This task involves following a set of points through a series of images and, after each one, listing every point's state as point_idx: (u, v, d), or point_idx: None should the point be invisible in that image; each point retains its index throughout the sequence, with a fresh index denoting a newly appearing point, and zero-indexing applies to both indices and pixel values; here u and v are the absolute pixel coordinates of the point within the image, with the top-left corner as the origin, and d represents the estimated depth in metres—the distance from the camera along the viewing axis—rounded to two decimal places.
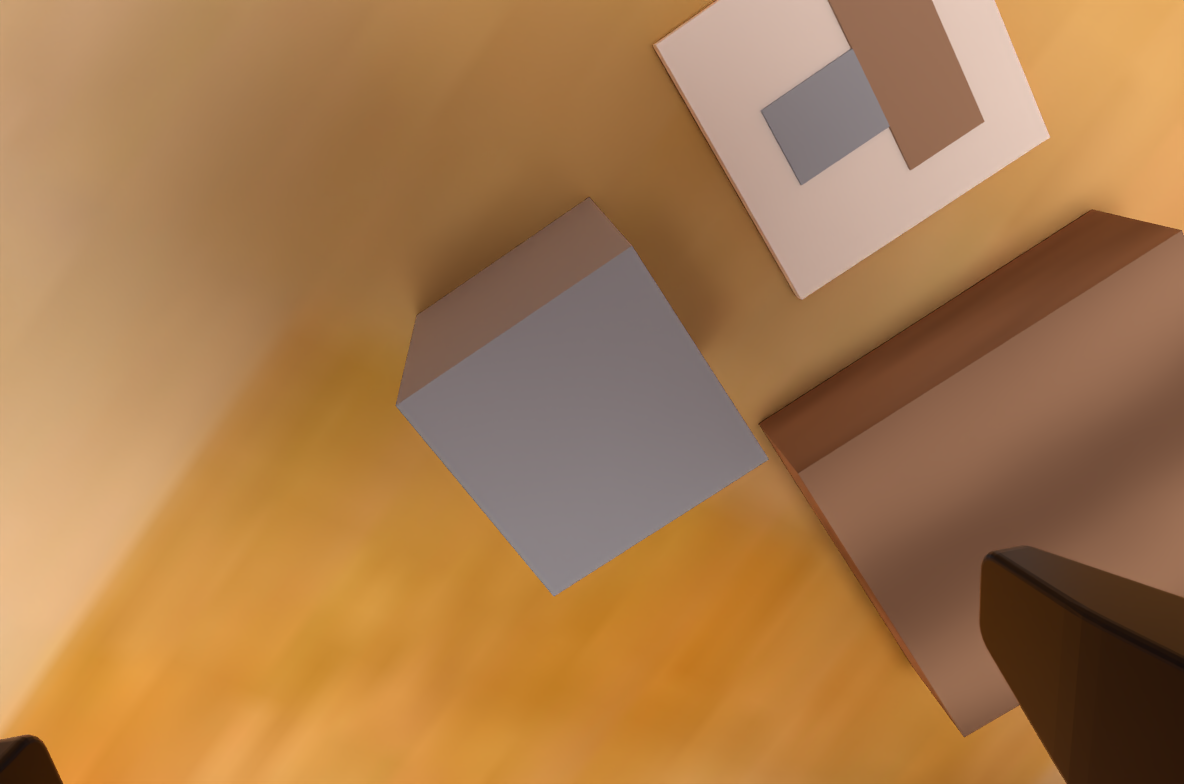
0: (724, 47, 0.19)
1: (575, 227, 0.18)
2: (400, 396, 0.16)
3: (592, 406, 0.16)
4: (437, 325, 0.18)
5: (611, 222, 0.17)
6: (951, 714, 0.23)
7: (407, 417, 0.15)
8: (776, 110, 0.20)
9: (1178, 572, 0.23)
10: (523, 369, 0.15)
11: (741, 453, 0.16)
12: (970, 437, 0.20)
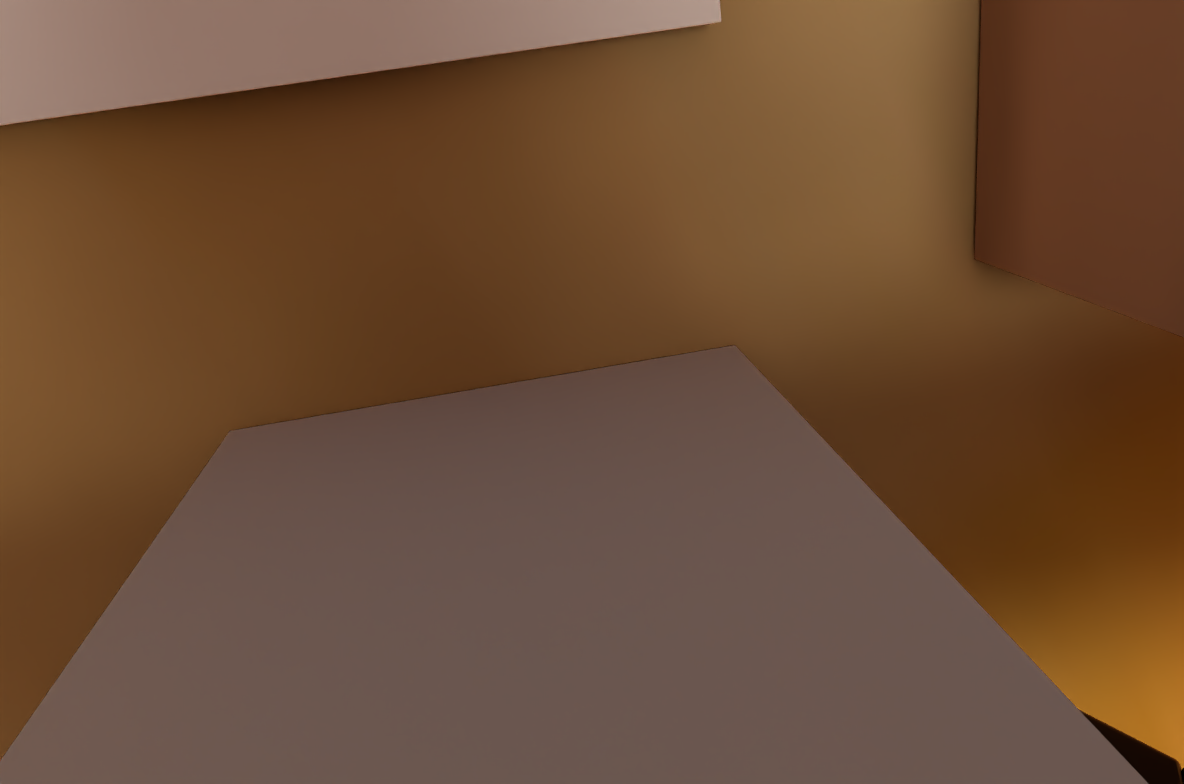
0: None
1: None
2: None
3: None
4: None
5: (63, 671, 0.05)
6: None
7: None
8: None
9: None
10: None
11: None
12: None
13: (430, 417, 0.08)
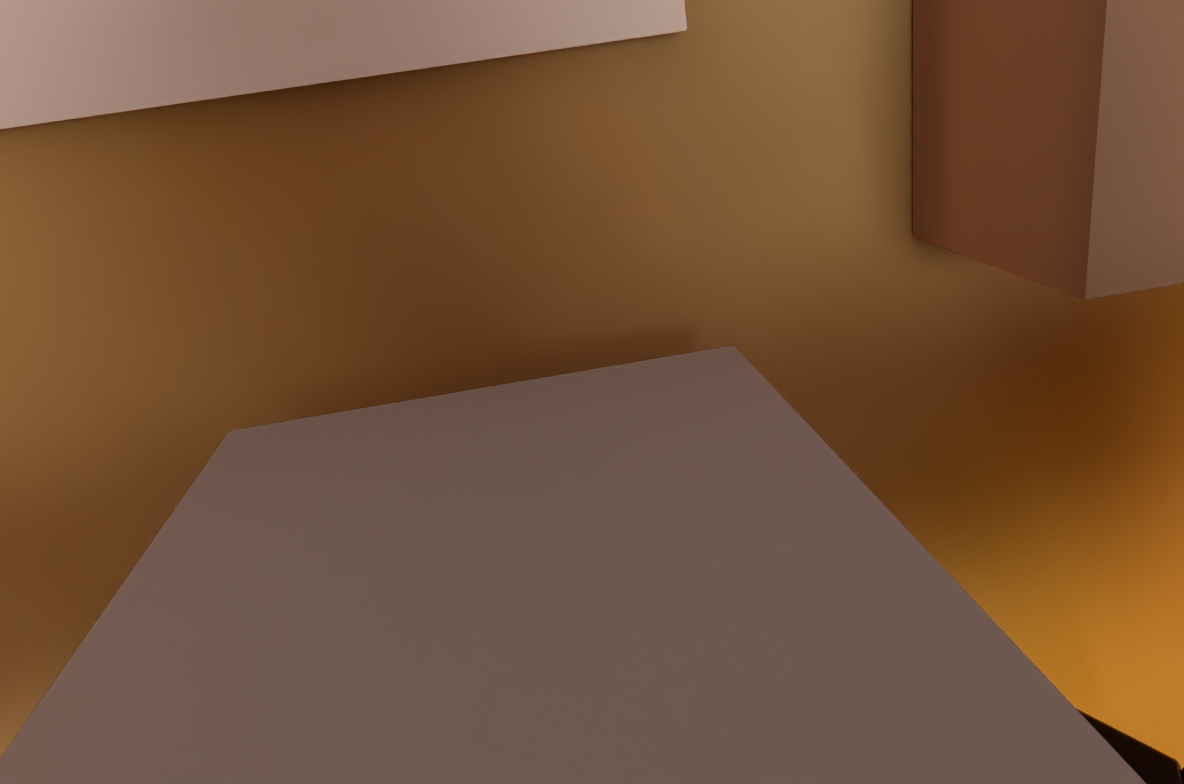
0: None
1: None
2: None
3: None
4: None
5: (62, 670, 0.05)
6: None
7: None
8: None
9: None
10: None
11: None
12: None
13: (429, 417, 0.08)
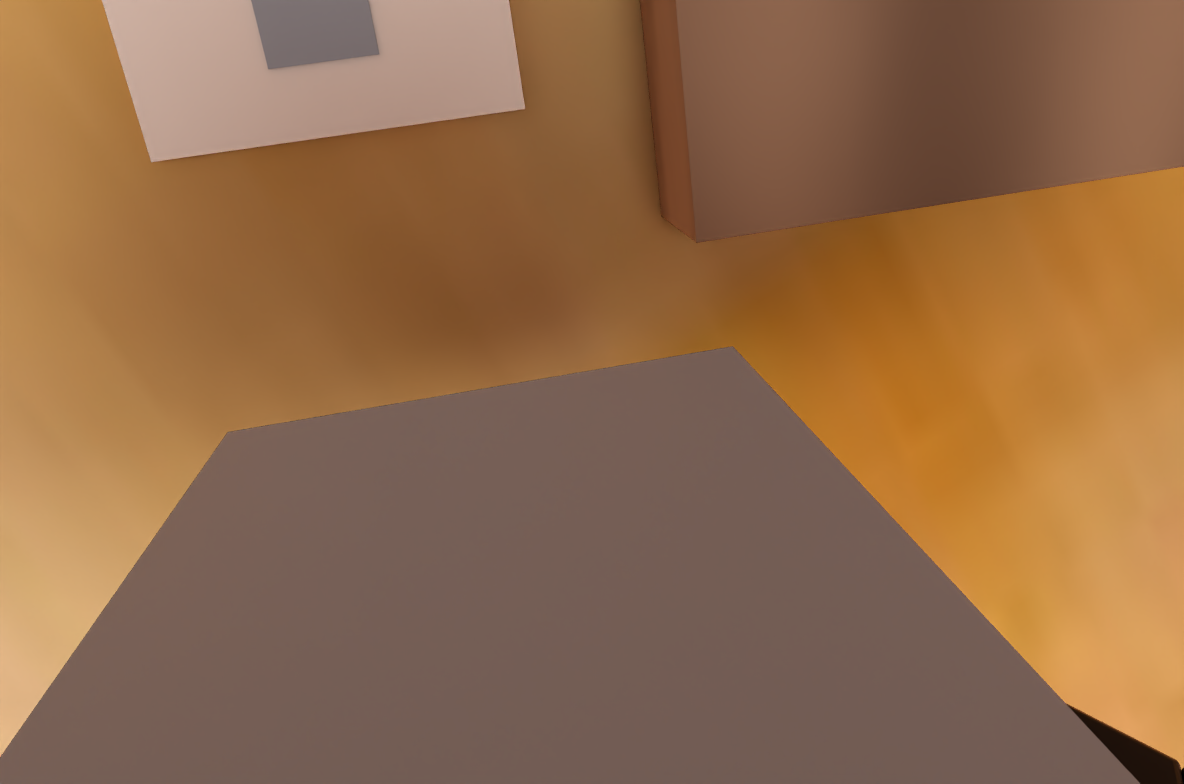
0: (179, 83, 0.16)
1: None
2: None
3: None
4: None
5: (59, 673, 0.05)
6: (1175, 165, 0.16)
7: None
8: (274, 49, 0.16)
9: None
10: None
11: None
12: None
13: (428, 418, 0.08)
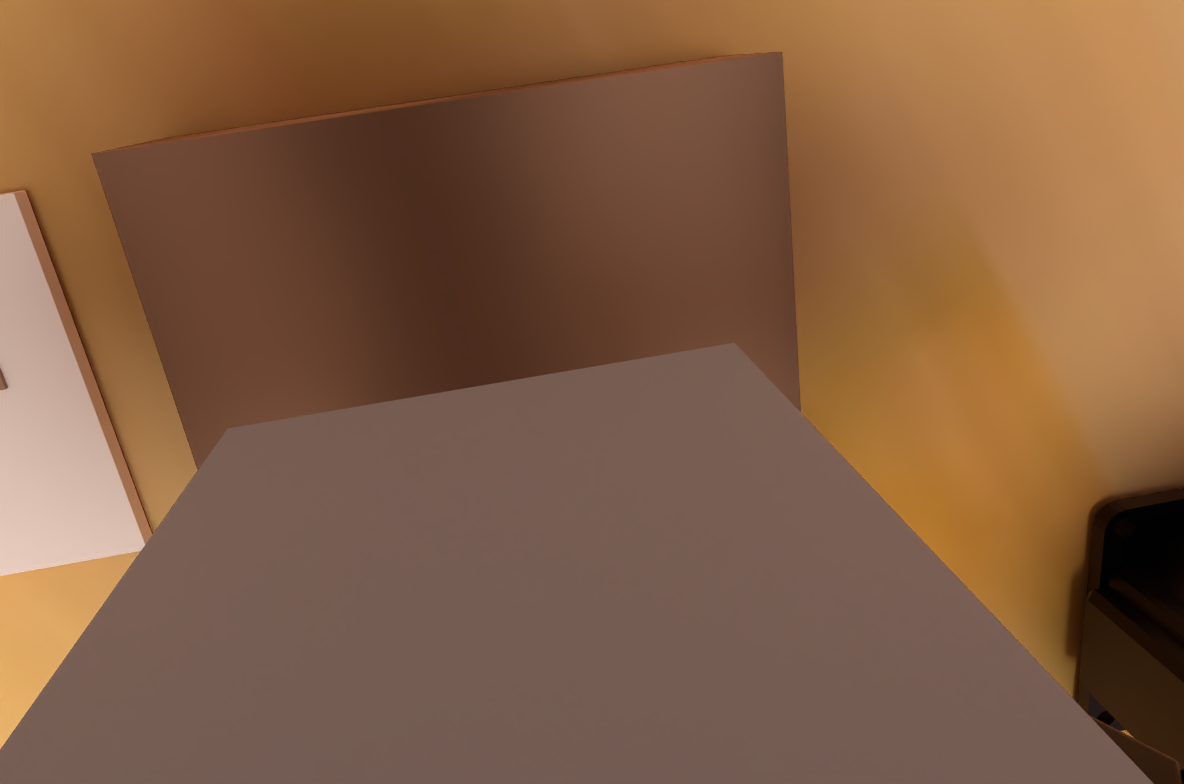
0: None
1: None
2: None
3: None
4: None
5: (58, 669, 0.05)
6: None
7: None
8: None
9: (718, 264, 0.14)
10: None
11: None
12: None
13: (428, 415, 0.08)
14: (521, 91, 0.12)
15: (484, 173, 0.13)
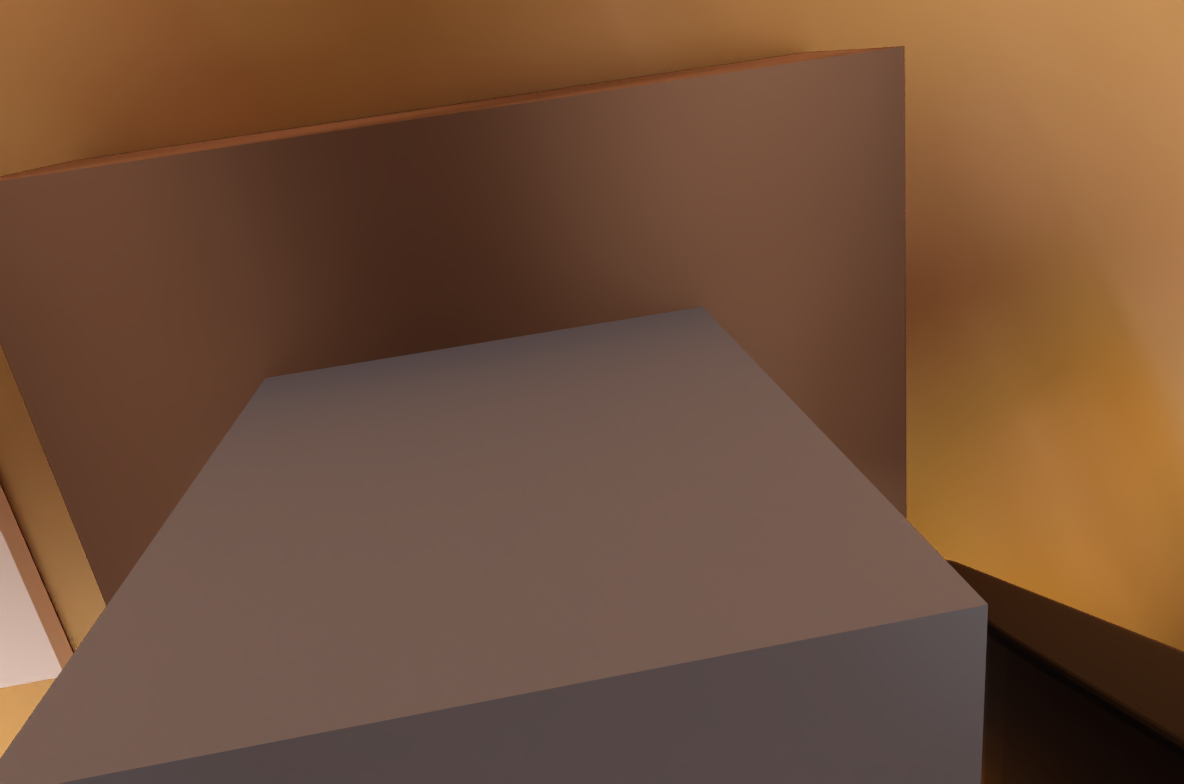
0: None
1: None
2: None
3: None
4: None
5: (152, 540, 0.06)
6: None
7: None
8: None
9: (806, 332, 0.10)
10: None
11: (906, 679, 0.04)
12: None
13: (438, 365, 0.09)
14: (544, 101, 0.09)
15: (492, 215, 0.09)
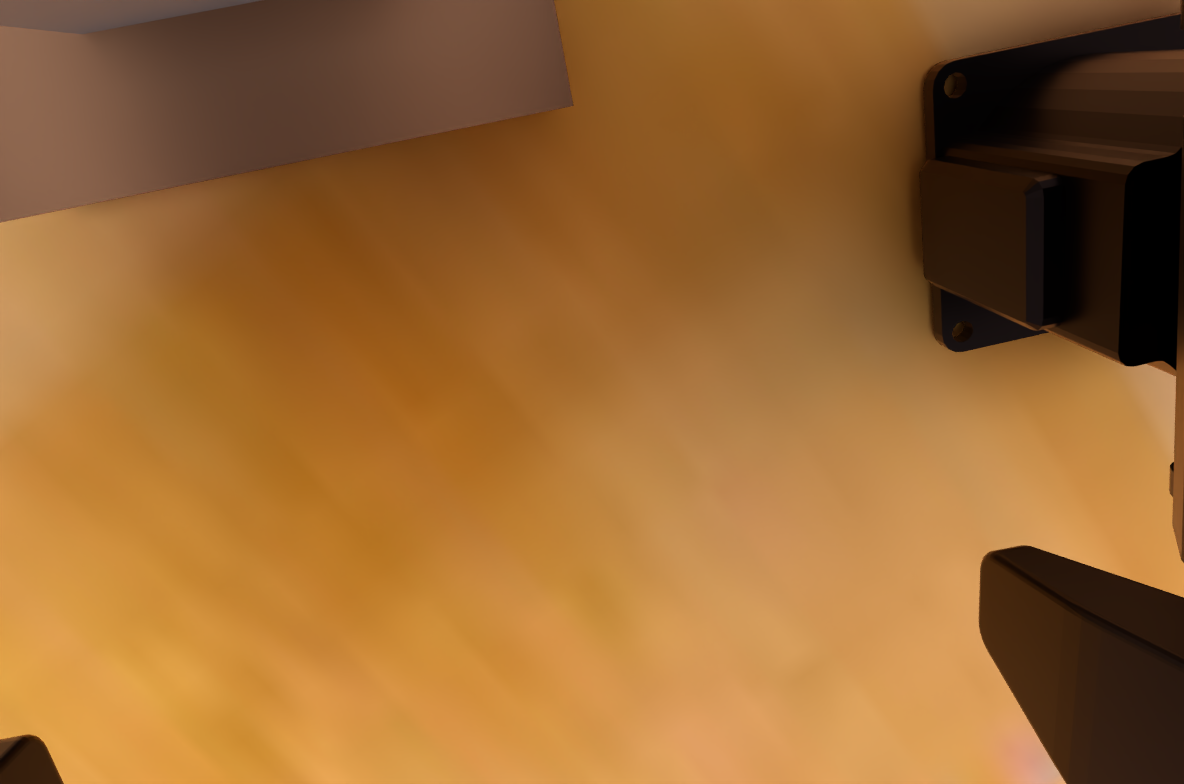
0: None
1: None
2: None
3: None
4: None
5: None
6: (518, 114, 0.15)
7: None
8: None
9: None
10: None
11: None
12: None
13: None
14: None
15: None
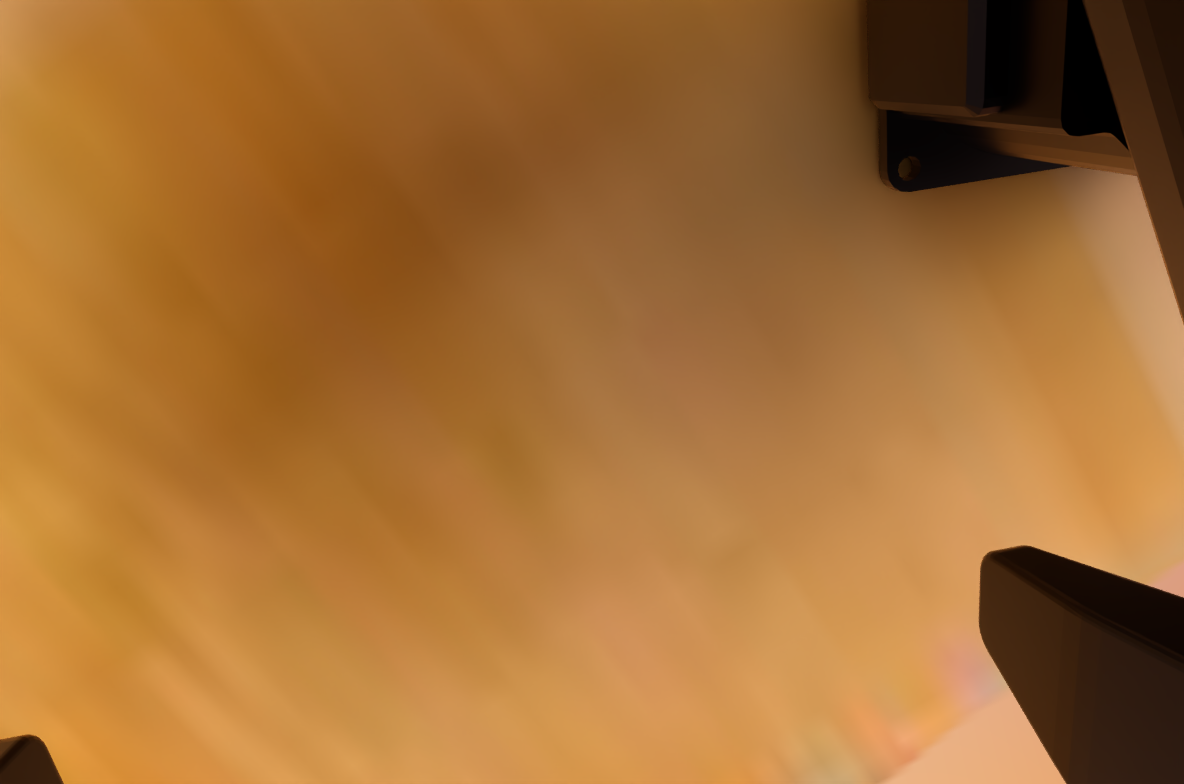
0: None
1: None
2: None
3: None
4: None
5: None
6: None
7: None
8: None
9: None
10: None
11: None
12: None
13: None
14: None
15: None
